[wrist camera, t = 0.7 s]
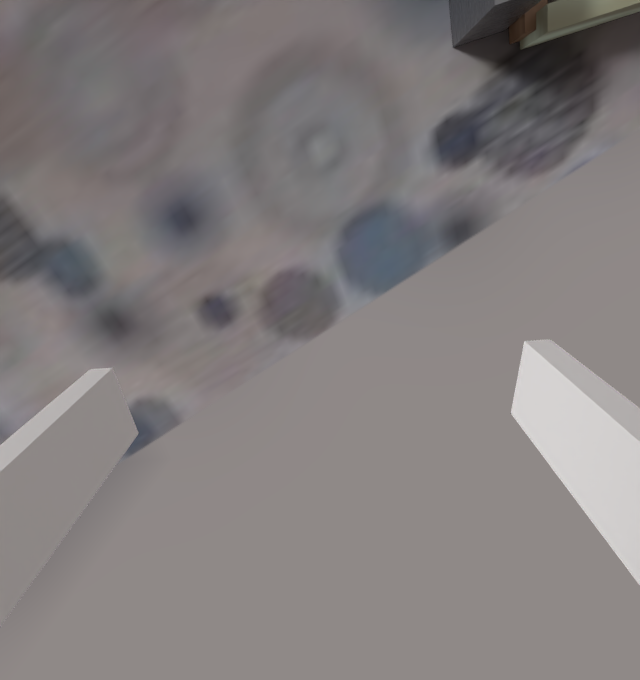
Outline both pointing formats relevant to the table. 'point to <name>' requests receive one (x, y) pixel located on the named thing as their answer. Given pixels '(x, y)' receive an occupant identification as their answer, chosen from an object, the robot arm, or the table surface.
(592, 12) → the bay
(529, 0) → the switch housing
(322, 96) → the table surface
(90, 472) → the robot arm
